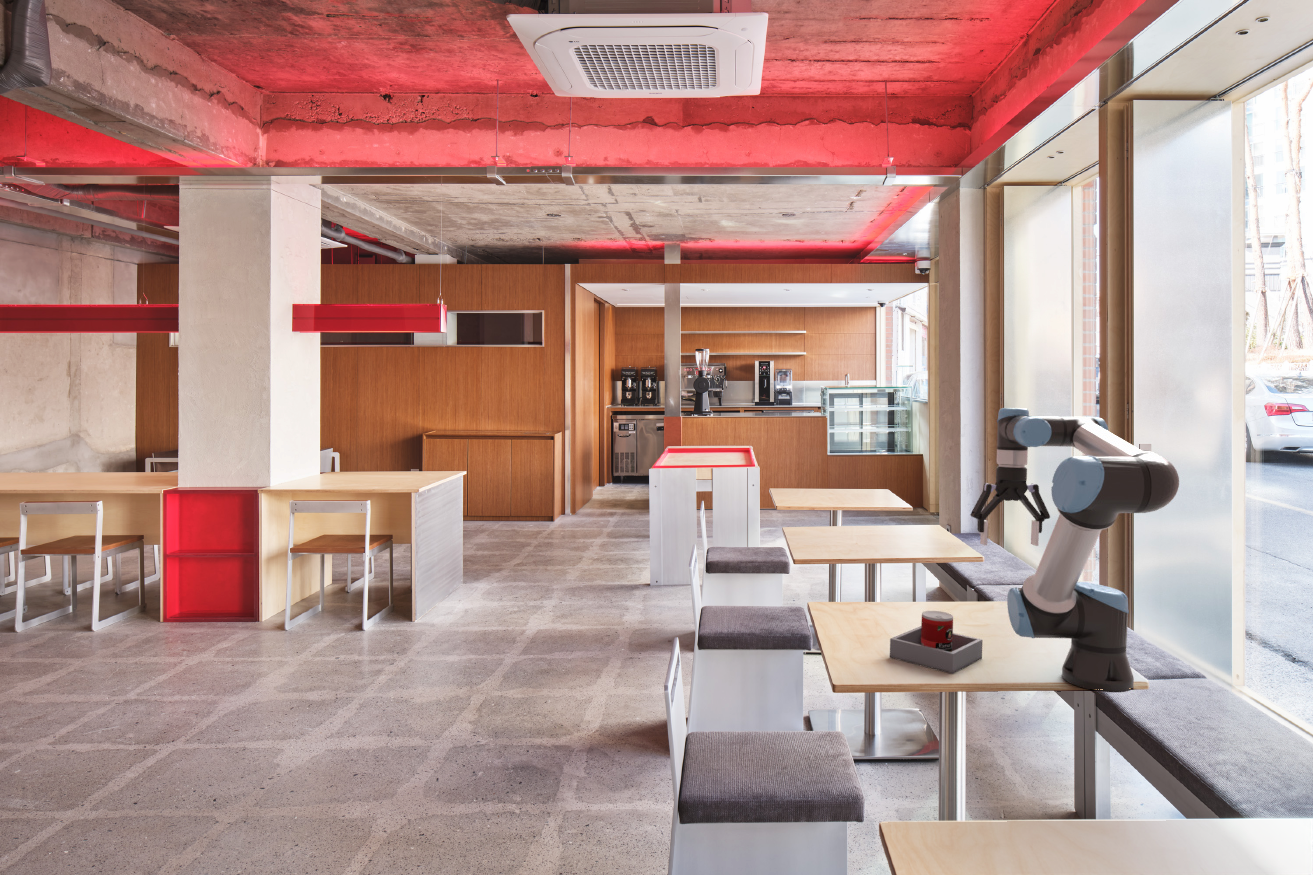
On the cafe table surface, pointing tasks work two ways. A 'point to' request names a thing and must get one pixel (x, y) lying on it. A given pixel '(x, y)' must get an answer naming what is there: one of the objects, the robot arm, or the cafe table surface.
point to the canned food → (937, 630)
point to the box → (936, 651)
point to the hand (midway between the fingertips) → (1009, 544)
